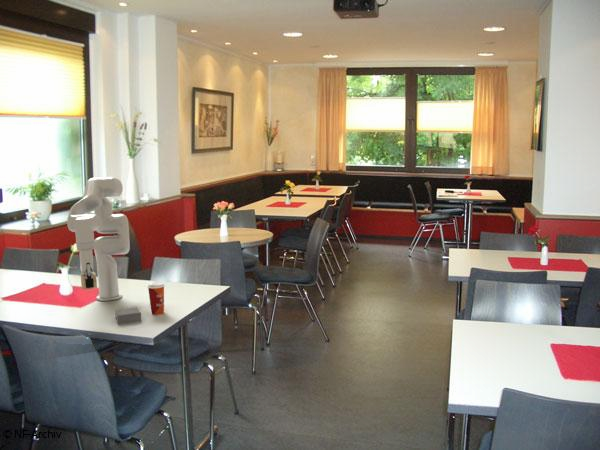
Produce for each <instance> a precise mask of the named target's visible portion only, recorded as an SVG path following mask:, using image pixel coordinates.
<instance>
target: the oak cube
mask: <svg viewBox="0 0 600 450" xmlns="http://www.w3.org/2000/svg"><path fill="white" fill-rule="evenodd" d="M87 274H88V273H87ZM92 277H93V283H94V287H92V288H86V282H85V279H86V275H85V273H82V272H81V273H80V282H81V288H82V290H83V291H85V290H93V289H98V284H97V283H98V279H97V274H96V272H95V271H93V272H92Z"/></svg>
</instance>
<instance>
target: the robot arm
mask: <svg viewBox="0 0 600 450" xmlns="http://www.w3.org/2000/svg"><path fill="white" fill-rule="evenodd" d="M122 183H123V182H121V180H120V179H119V178H116V177H113V176H107V177H106V176H105V177H91V178H89V179H88V180H87V181H86V182H85V188H84V191H83V197H82V198H81V199H80V200H78V201H77V202H76V203H74V204H73V205H72V206H71V207H70V209H69V211H68V216H67V221H66V224H67V228H68V230H69V231H70V232H73V233H75V243H76V250H77V251H79V267H80V271H81V273H85V275H86V279H85V282H86V288H92V287H94V283H93V277H92V272H94V256H95V260H96V269H97V270H96V271H97V283H98V284H97V285H98V295H97V296H96V297H95V298H96V300H97V301H100V302H101V301H102V302H105V301H106V302H108V301H109V302H110V301H115V300H118V299H121V298H122V297H123V293H121V292H120V289H119V280H118V279H119V278H118V268H117V267H118V264H117V261H116V260H115V258H114V257H113V256H116V255H117V256H118V255H127V254H128V253H129V252H130V250H131V249H130V247H131V245H130V244H131V243H130V228H129V227H130V226H129V219H128V217H127V215H125V214H123V213H113V204H112V202H111V201H110V199H108V198H109V197H110V198H111V197H115V198H116V197H120V196H121V195H122V193H123V188H124V187H123V184H122ZM93 211H94V214H93V213H91V214H89V213H90V212H93ZM94 232H97V233H98V234H118V235H105V236H99V237H96V238H95V233H94ZM93 251H94V254H95V255H93ZM87 273H88V274H87Z"/></svg>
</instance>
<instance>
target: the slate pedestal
mask: <svg viewBox="0 0 600 450" xmlns="http://www.w3.org/2000/svg"><path fill="white" fill-rule="evenodd" d="M114 320H115V321H116V323H117V325H123V324H131V322H132V323H137V322H138V321H139V322H142V313H141V311H140V309H139V308H138V306H134V307H132V306H131V307H127V308H120V309H114Z"/></svg>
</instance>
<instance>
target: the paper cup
mask: <svg viewBox="0 0 600 450" xmlns="http://www.w3.org/2000/svg"><path fill="white" fill-rule="evenodd" d="M147 289H148V296H149V304H150V305H149V306H150V311H151V315H154V316H159V315H162V314H163V315H164V313H165V284H164V282H162V281H153V282H149V283H148V284H147Z"/></svg>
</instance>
